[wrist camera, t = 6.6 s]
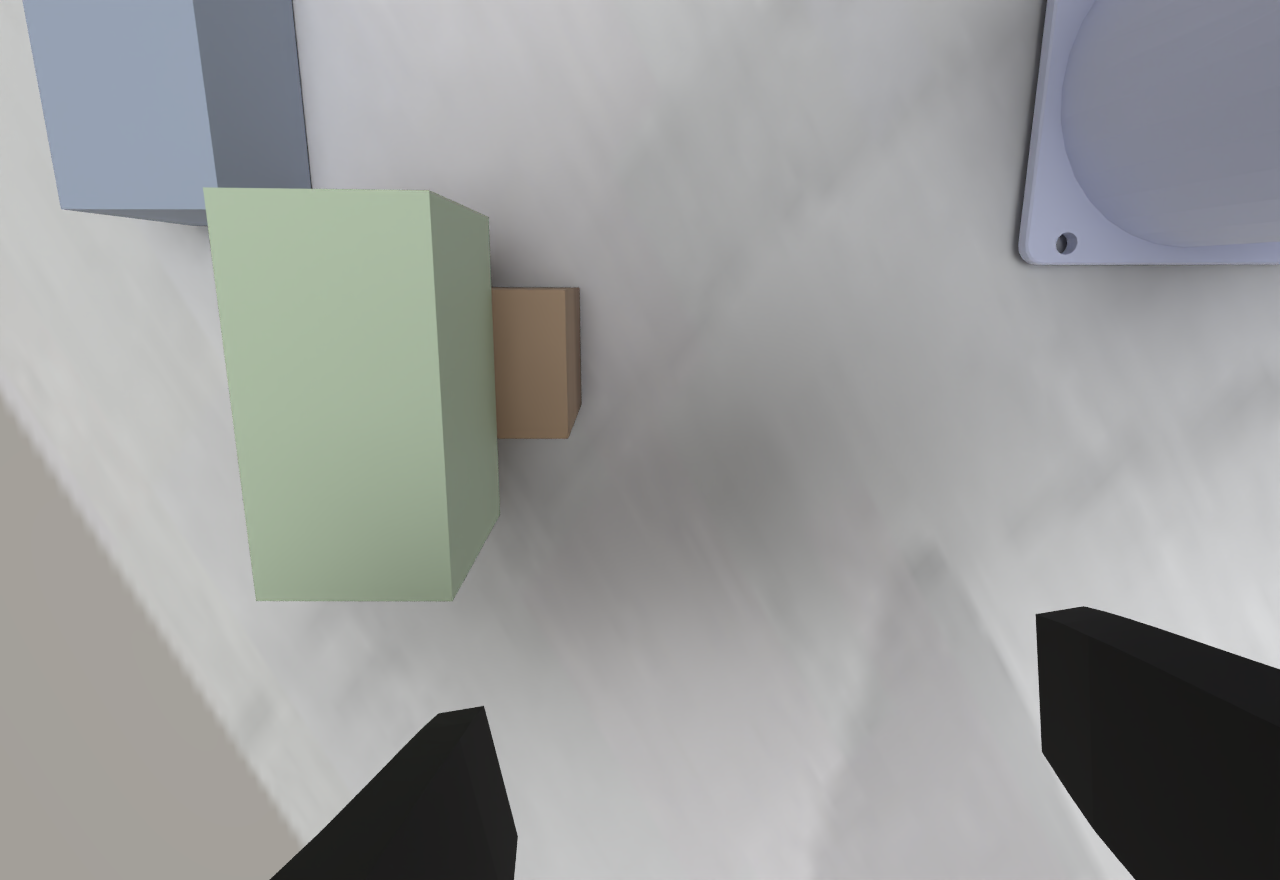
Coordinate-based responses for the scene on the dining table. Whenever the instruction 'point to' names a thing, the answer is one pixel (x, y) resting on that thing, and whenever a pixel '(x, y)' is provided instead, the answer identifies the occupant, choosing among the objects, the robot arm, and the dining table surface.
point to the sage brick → (358, 387)
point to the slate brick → (168, 102)
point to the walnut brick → (536, 361)
